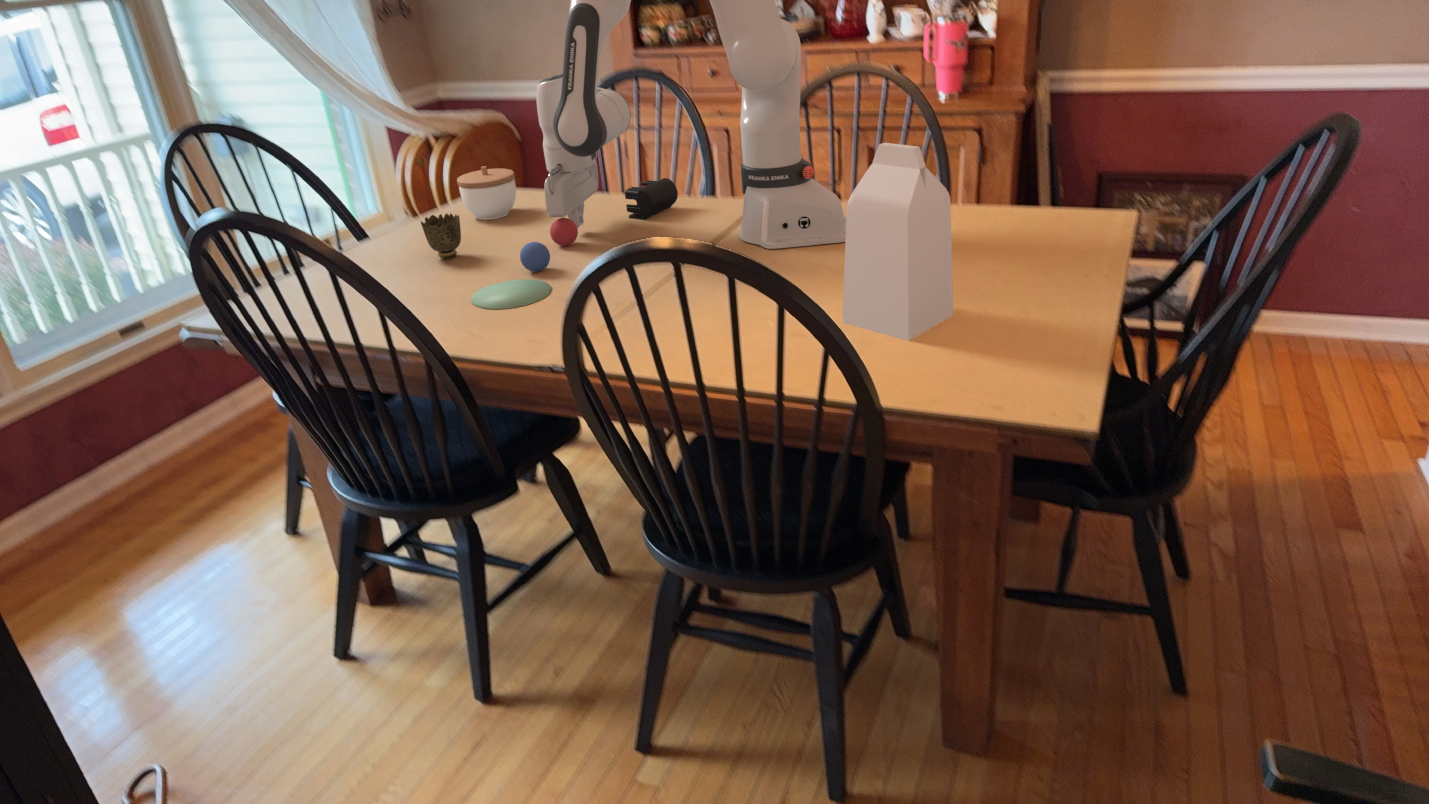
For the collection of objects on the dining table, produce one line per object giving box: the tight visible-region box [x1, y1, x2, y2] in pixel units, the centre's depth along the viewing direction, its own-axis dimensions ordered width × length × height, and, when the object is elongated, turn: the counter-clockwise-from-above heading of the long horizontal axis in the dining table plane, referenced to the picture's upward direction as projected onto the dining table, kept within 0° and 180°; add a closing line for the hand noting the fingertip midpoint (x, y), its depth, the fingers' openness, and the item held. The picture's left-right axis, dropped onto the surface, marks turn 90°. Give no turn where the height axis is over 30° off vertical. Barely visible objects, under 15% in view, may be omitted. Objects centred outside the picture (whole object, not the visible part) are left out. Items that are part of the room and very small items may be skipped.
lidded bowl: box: [456, 165, 517, 221], centre depth 213 cm, size 13×13×11 cm
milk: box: [842, 142, 954, 342], centre depth 138 cm, size 12×12×26 cm
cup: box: [420, 213, 462, 260], centre depth 188 cm, size 8×7×8 cm
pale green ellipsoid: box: [470, 278, 552, 310], centre depth 168 cm, size 14×14×1 cm
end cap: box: [624, 177, 679, 221], centre depth 205 cm, size 10×7×7 cm
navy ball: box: [519, 241, 551, 273], centre depth 177 cm, size 6×6×6 cm
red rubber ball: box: [549, 217, 579, 247], centre depth 190 cm, size 6×6×6 cm
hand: (577, 226), depth 197 cm, fingers closed
